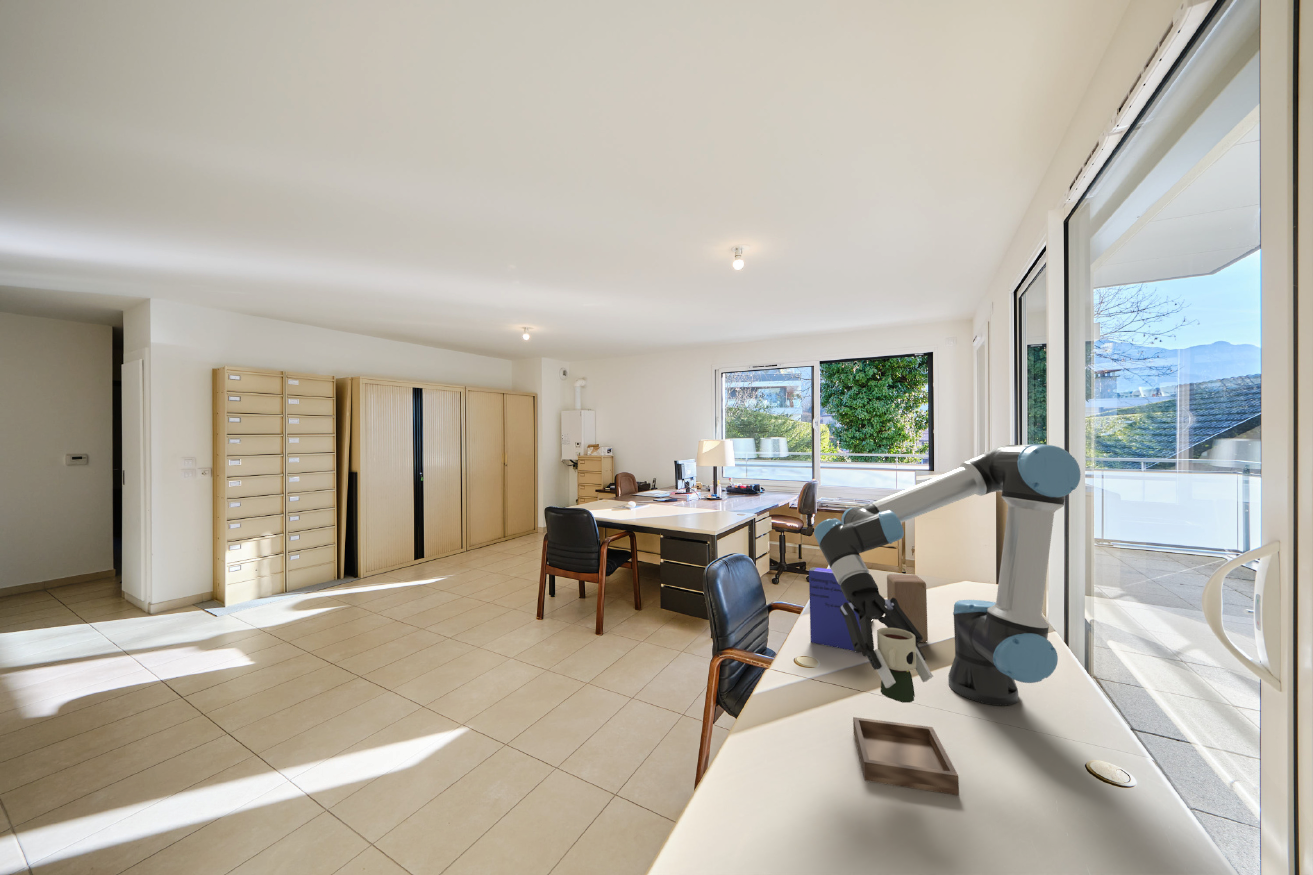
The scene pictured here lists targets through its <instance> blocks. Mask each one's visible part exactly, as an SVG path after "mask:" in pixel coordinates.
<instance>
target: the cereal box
mask: <svg viewBox="0 0 1313 875" xmlns="http://www.w3.org/2000/svg"><path fill="white" fill-rule="evenodd" d="M808 580H809V581H808V582H809V583H808V586H809V588H808V589H809V590H808V591H809V627H810V630H809V634H810V636H809V637H810V643H812V644H816V645H821V646H826V647H831V648H835V649H840V650H846V651H851V652H855V650H854V647H853V644H852V641H851V638H850V634H849V631H848V628H847V625H846V622H845V618H844V617H843V615H842V614H841V612H840V610H839V609H840V607H841V606H842V605H843V604H844V603H845V602H846V603H849V601H847V600H846V598H845V596H844V594H843V592H842V590H841V588H840V586H841V585H839V584H838V582H837V580H836V578H835V576H834V574H833V572H832V570H831V568H824V567H816V566H813V567H810V568H809V569H808ZM854 614H855V616H856V619H857V622H858V625H859V628H860V631H861V626H860V624H859V618H858V614H857V613H856V612H855V611H854ZM859 653H861V652H859ZM861 654H862V653H861Z"/></svg>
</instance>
